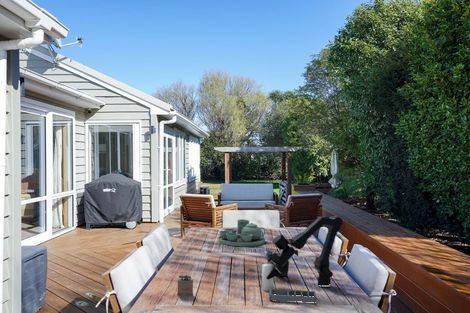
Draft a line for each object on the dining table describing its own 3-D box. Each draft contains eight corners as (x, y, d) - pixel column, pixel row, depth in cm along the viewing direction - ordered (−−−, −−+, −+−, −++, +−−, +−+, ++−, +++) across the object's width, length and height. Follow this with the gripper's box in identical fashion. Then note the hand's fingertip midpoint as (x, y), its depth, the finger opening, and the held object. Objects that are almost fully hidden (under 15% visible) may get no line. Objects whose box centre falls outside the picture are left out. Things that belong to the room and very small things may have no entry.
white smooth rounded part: (273, 287, 212) (273, 263, 212) (272, 291, 206) (273, 266, 206) (262, 287, 213) (262, 263, 213) (261, 290, 207) (262, 266, 207)
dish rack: (315, 297, 199) (315, 290, 199) (316, 304, 189) (316, 296, 189) (270, 294, 202) (270, 287, 202) (269, 300, 192) (269, 293, 192)
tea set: (211, 239, 341) (211, 220, 342) (251, 236, 358) (251, 218, 359) (229, 248, 305) (230, 227, 306) (274, 245, 323) (274, 225, 323)
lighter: (193, 293, 201) (193, 274, 201) (192, 295, 197) (193, 276, 197) (177, 293, 200) (177, 273, 200) (176, 295, 197) (177, 275, 197)
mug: (273, 274, 238) (273, 257, 239) (288, 274, 238) (288, 258, 238) (273, 280, 226) (274, 262, 227) (289, 280, 226) (289, 263, 226)
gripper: (270, 241, 220) (250, 262, 217) (281, 249, 202) (259, 271, 199) (283, 255, 222) (264, 275, 219) (295, 264, 203) (274, 286, 201)
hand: (265, 277), depth 209 cm, fingers closed on white smooth rounded part, 6 cm apart
